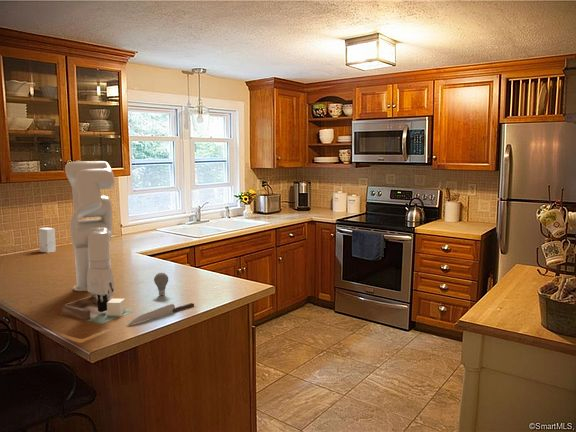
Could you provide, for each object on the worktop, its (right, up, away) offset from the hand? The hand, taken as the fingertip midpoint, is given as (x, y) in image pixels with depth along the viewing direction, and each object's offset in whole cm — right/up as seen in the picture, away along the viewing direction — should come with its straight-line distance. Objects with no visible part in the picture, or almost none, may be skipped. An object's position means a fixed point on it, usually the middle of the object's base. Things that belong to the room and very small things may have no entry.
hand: (102, 310), depth 180 cm
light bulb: (+16, +1, +26) cm, 30 cm away
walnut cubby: (-3, -2, +2) cm, 4 cm away
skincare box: (-80, +14, +116) cm, 141 cm away
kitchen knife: (+22, -3, 0) cm, 22 cm away
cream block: (+5, -1, 0) cm, 5 cm away
